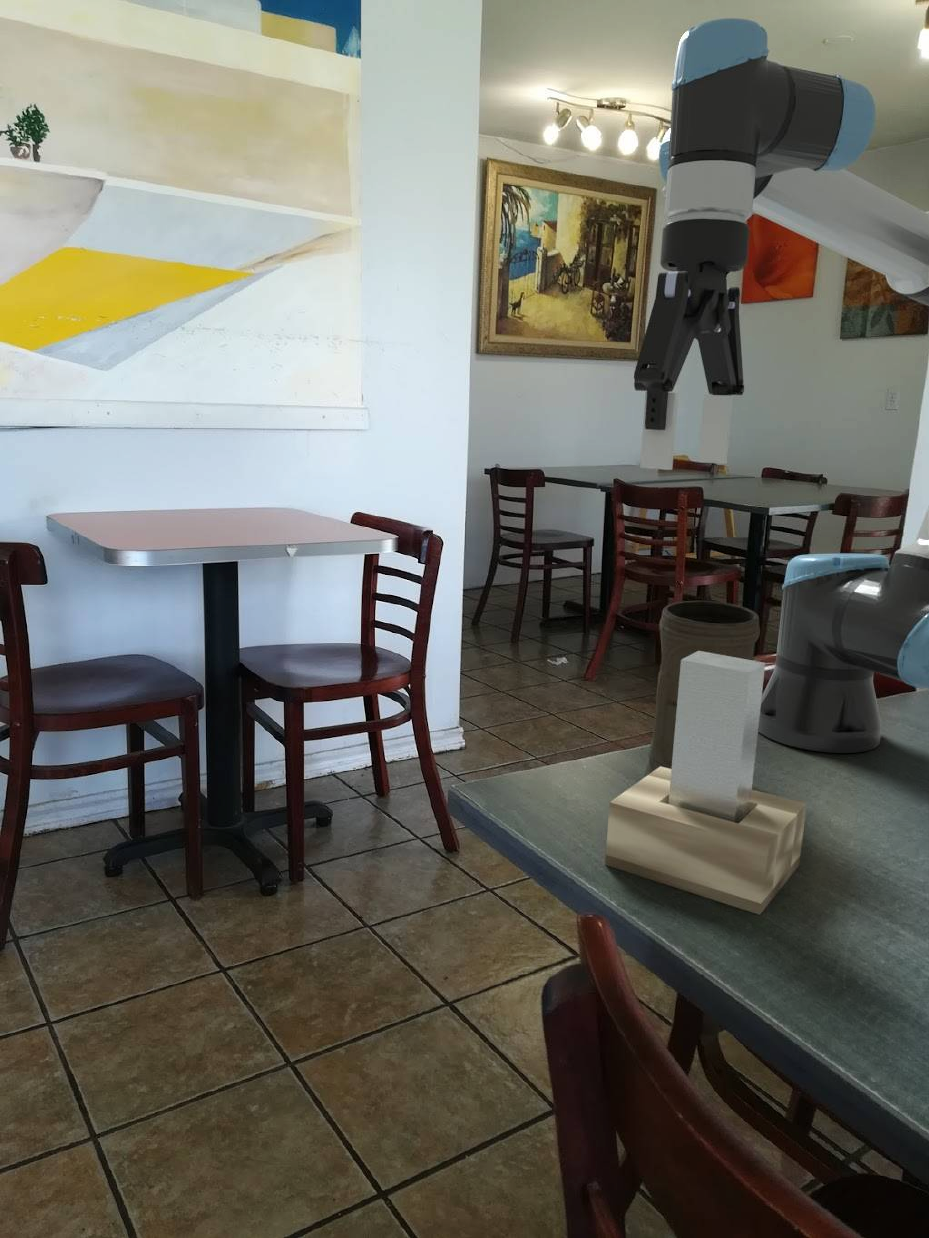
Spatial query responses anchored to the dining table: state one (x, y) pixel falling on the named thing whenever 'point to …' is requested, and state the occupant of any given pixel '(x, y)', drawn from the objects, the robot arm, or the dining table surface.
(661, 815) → the well block
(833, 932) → the dining table surface
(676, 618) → the beer stein
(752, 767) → the tall grey pillar
